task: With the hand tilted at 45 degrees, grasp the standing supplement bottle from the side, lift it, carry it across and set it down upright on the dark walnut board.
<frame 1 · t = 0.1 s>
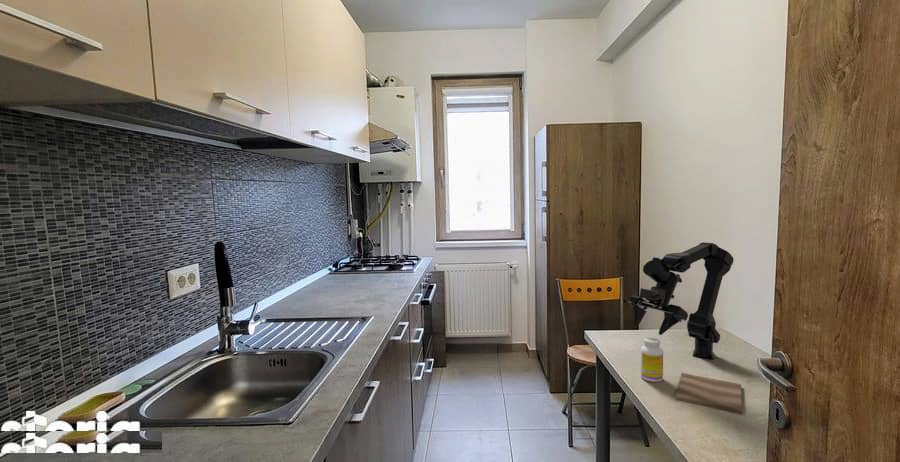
hand: (647, 330, 137), 15 cm above the table, tool tilted 35°, fingers open, 9 cm apart
supplement bottle: (651, 378, 135), on the table
walnut board: (708, 392, 125), on the table
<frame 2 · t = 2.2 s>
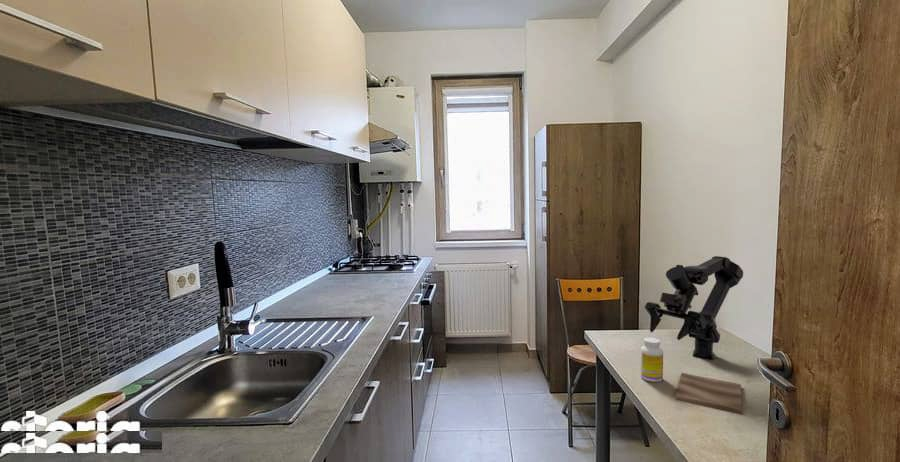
hand: (664, 335, 138), 13 cm above the table, tool tilted 45°, fingers open, 9 cm apart
nothing on the table moved.
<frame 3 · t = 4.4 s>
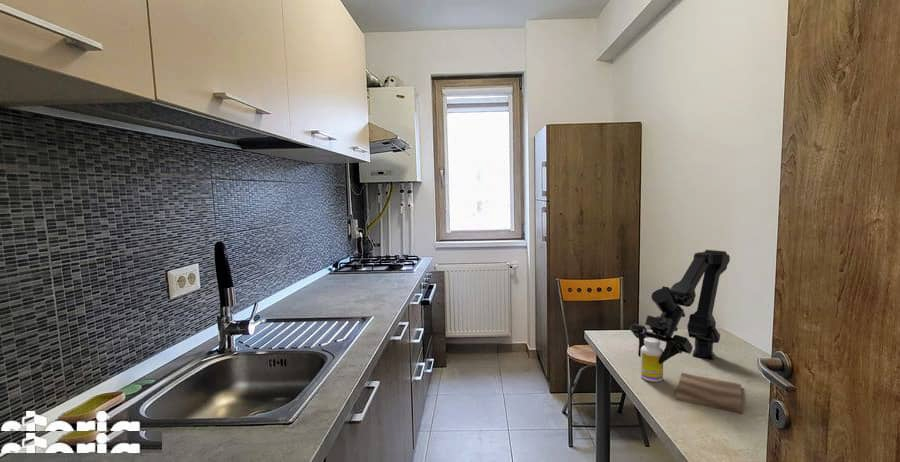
hand: (649, 359, 134), 7 cm above the table, tool tilted 45°, fingers closed on supplement bottle, 7 cm apart
supplement bottle: (651, 378, 135), on the table, touching gripper
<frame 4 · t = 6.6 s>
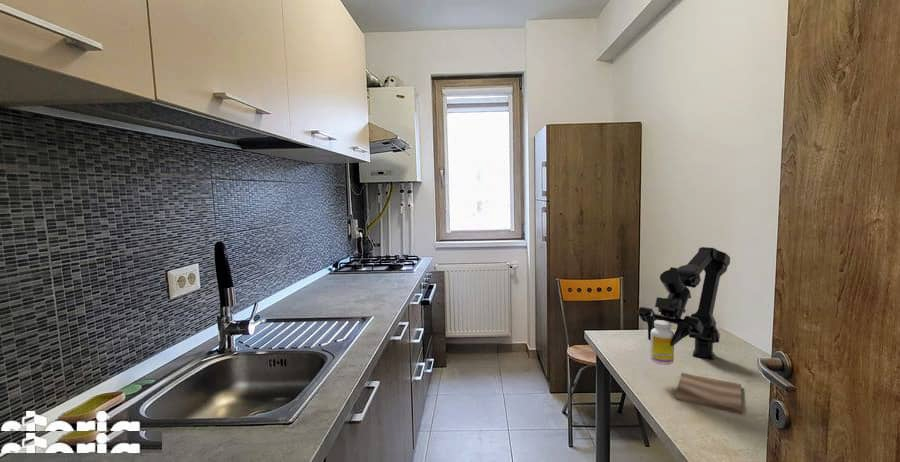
hand: (660, 342, 131), 13 cm above the table, tool tilted 45°, fingers closed on supplement bottle, 7 cm apart
supplement bottle: (661, 362, 132), point 6 cm above the table, touching gripper
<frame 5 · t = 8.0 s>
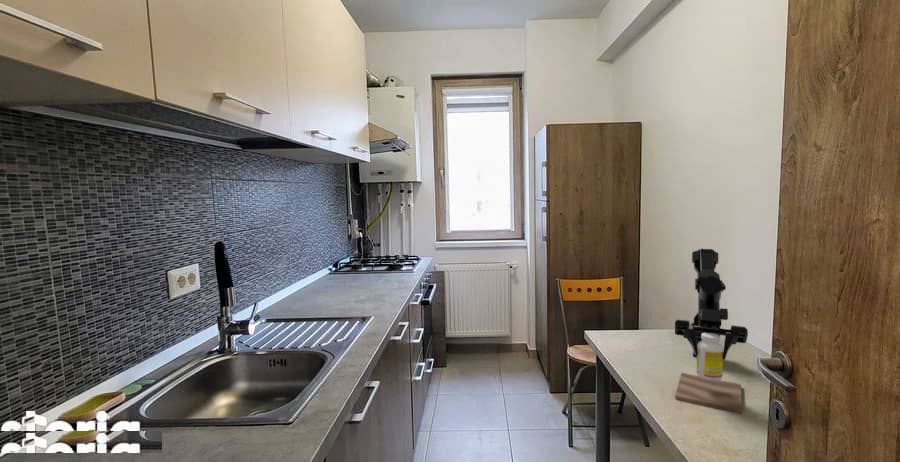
hand: (710, 357, 123), 12 cm above the table, tool tilted 45°, fingers closed on supplement bottle, 7 cm apart
supplement bottle: (709, 377, 125), point 5 cm above the table, touching gripper
when the fingers open (9 cm above the table, at t = 9.1 s): supplement bottle drops 1 cm, resting on walnut board.
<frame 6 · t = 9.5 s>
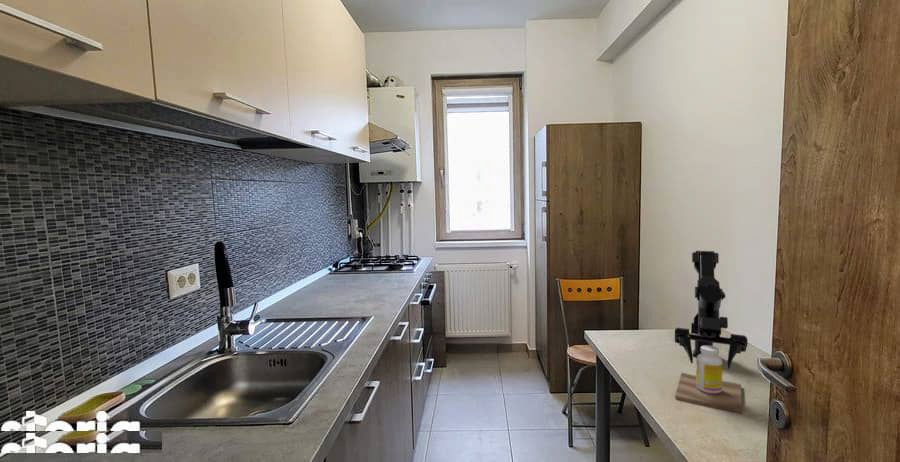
hand: (709, 365, 123), 9 cm above the table, tool tilted 45°, fingers open, 9 cm apart
supplement bottle: (708, 389, 125), point 1 cm above the table, touching walnut board
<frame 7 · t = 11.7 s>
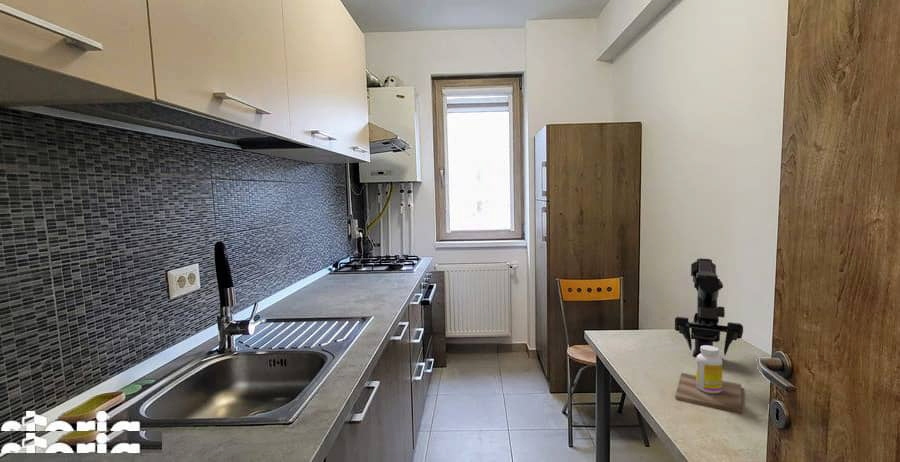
hand: (707, 352, 131), 10 cm above the table, tool tilted 40°, fingers open, 9 cm apart
nothing on the table moved.
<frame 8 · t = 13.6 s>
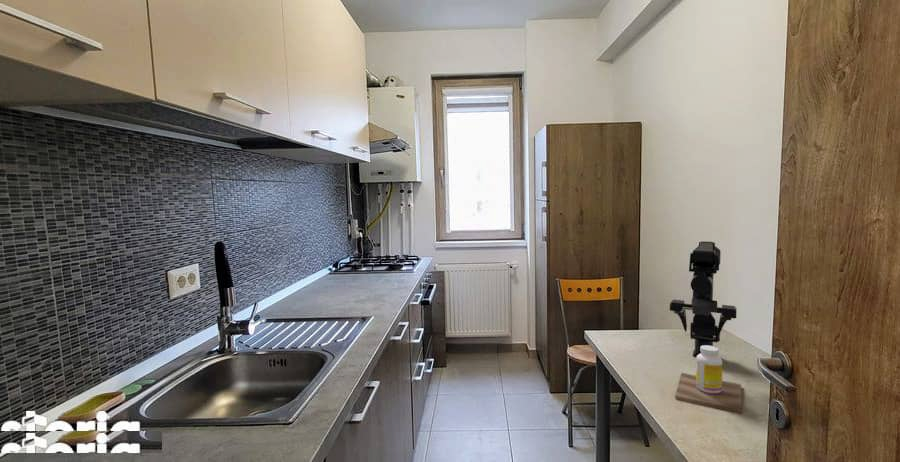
hand: (701, 333, 138), 13 cm above the table, tool pointing down, fingers open, 9 cm apart
nothing on the table moved.
at the end: supplement bottle inside the target area on the walnut board (0.2 cm from its centre), point 0.8 cm above the walnut board's base; supplement bottle tilted 0°; the gripper is holding nothing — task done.
